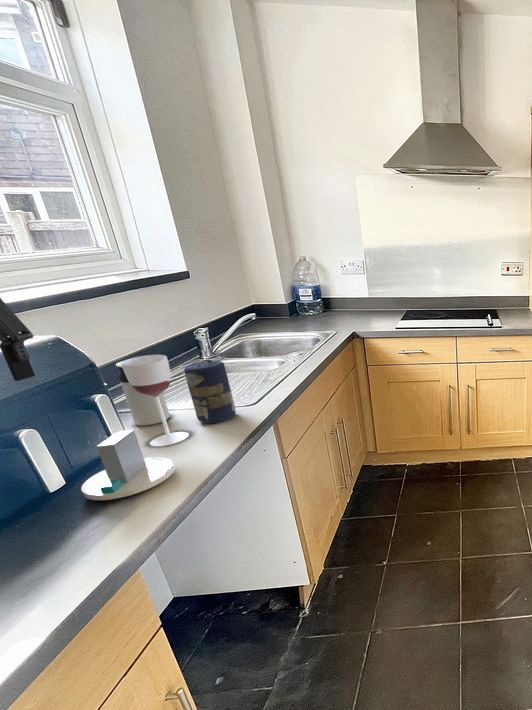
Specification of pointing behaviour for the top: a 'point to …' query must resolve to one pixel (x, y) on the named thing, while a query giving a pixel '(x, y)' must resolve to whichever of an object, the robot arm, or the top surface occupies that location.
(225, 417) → the canister
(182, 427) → the top surface
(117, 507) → the top surface
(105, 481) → the plate
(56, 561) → the top surface
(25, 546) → the top surface
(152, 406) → the travel mug
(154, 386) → the wineglass
